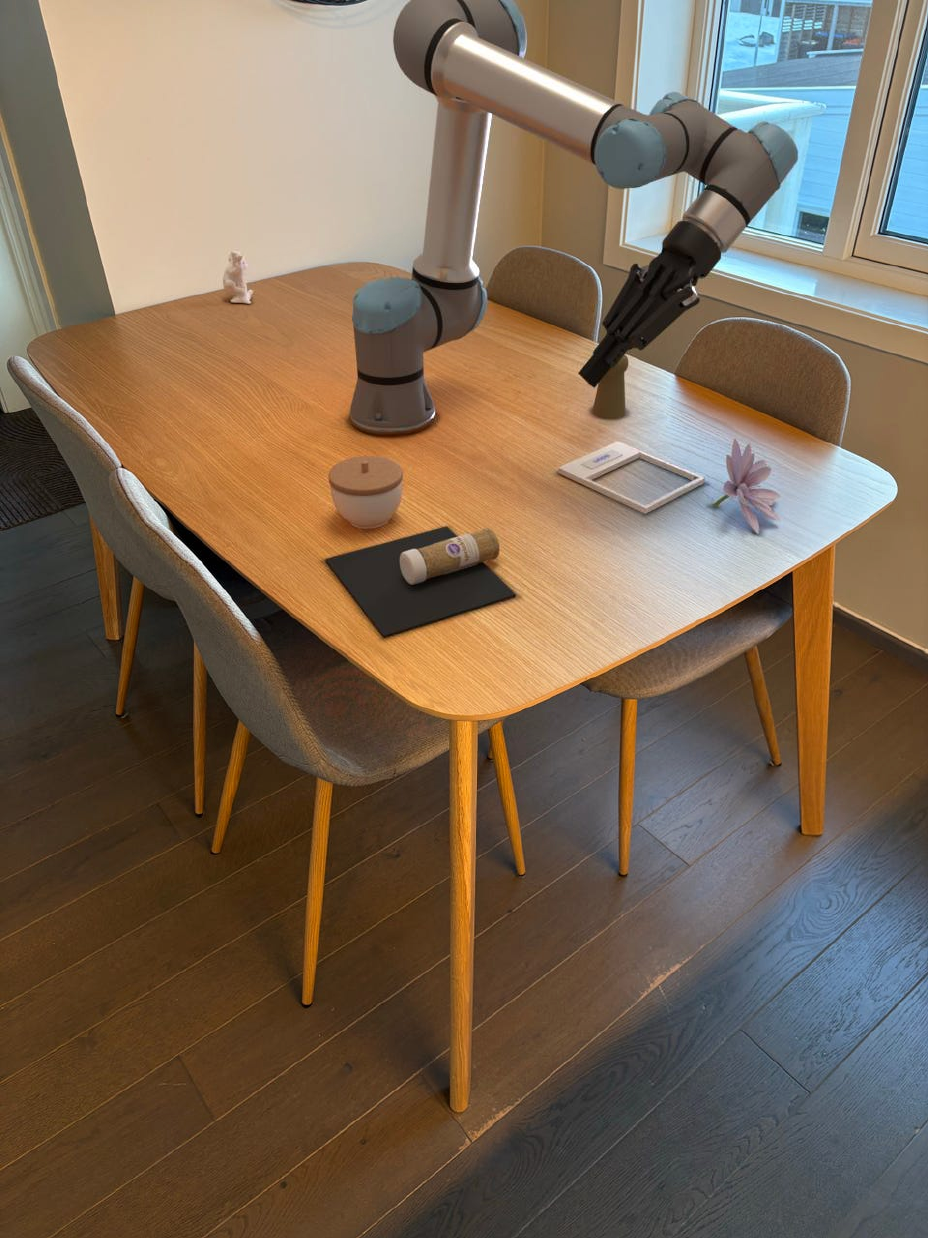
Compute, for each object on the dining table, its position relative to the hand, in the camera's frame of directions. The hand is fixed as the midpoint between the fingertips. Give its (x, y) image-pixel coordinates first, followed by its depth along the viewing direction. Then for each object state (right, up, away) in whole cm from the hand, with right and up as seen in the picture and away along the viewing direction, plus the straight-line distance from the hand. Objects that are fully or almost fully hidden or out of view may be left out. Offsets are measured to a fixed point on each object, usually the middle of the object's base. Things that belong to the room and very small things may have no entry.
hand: (586, 380), depth 127 cm
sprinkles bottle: (-13, -22, +2) cm, 25 cm away
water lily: (+26, -17, +13) cm, 33 cm away
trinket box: (-31, -18, +12) cm, 38 cm away
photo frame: (+10, -10, +22) cm, 26 cm away
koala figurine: (-70, +43, +96) cm, 127 cm away
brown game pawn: (+10, +5, +43) cm, 45 cm away
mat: (-23, -27, -1) cm, 35 cm away
